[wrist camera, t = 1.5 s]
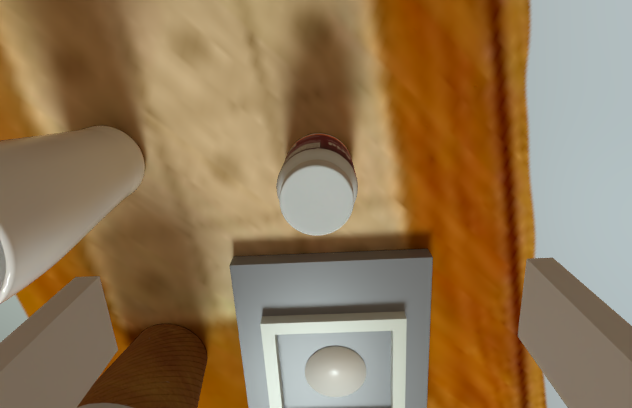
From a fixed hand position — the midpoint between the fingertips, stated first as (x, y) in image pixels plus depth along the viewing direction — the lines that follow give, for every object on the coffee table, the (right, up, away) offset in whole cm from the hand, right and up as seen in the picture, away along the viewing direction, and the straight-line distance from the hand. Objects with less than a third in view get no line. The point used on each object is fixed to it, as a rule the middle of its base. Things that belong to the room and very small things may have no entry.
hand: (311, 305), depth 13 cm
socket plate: (+2, -10, +23) cm, 25 cm away
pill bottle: (0, +6, +17) cm, 18 cm away
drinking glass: (-15, +6, +18) cm, 24 cm away
